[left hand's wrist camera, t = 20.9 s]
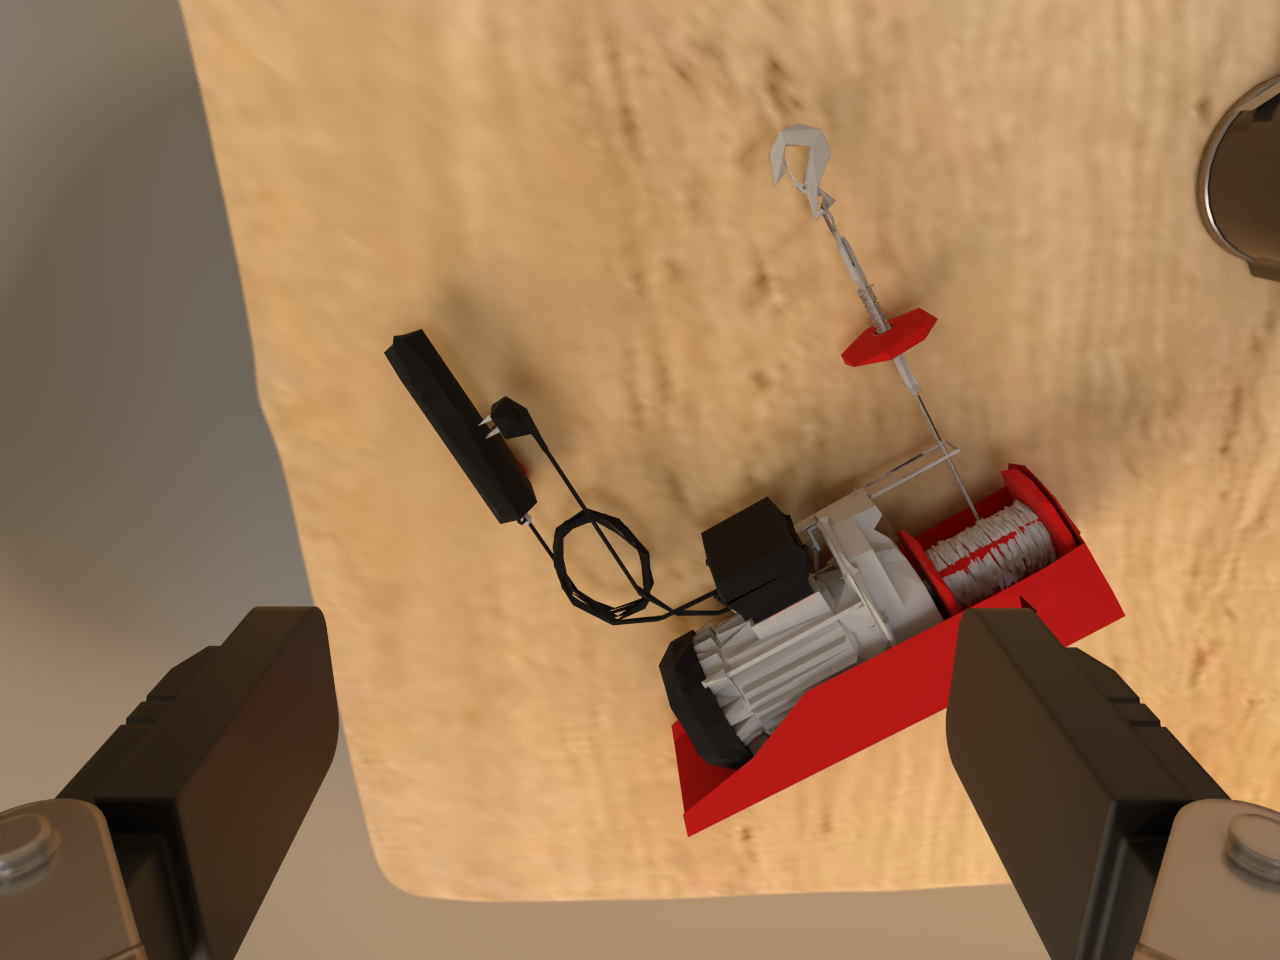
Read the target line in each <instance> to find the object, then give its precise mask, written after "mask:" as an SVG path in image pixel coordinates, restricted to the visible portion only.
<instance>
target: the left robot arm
mask: <svg viewBox="0 0 1280 960" xmlns="http://www.w3.org/2000/svg"><path fill="white" fill-rule="evenodd" d="M1197 201H1198V208H1199V212H1200V215H1201V218H1202V221H1203V223H1204V225H1205V227H1206V229H1207V231H1208V232H1209V234H1210V235H1211V237H1212V238H1213V239H1214V240H1215V242H1216V243H1217V244H1218V245H1219V246H1221V247H1222V248H1223V249H1224V250H1226V251H1227V252H1228V253H1230V254H1232V255H1234V256H1236V257H1238V258H1241V259H1243V260H1247V262H1248V264H1249V266H1250V269H1251V273H1252V275H1253V276H1254V277H1258V278H1262V279H1267V280H1272V281H1277V282H1280V75H1279V76H1276V77H1274V78H1272V79H1270V80H1268V81H1266V82H1264V83H1262V84H1261V85H1259V86H1257V87H1256V88H1254V89H1253V90H1251V91H1250V92H1249V93H1247V94H1246V95H1245V96H1244V97H1242V98H1241V99H1240V100H1239V101H1238V102H1237V103H1236V104H1235V105H1234V106H1233V107H1232V108H1231V109H1230V110H1229V111H1228V112H1227V114H1226V115H1225V116H1224V117H1223V119H1222V120H1221V121H1220V123H1219V124H1218V126H1217V127H1216V129H1215V130H1214V132H1213V134H1212V136H1211V137H1210V139H1209V141H1208V144H1207V146H1206V148H1205V150H1204V153H1203V156H1202V159H1201V163H1200V167H1199V171H1198V178H1197ZM338 730H339V715H338V706H337V699H336V692H335V685H334V677H333V670H332V663H331V656H330V648H329V641H328V634H327V627H326V622H325V618H324V615H323V613H322V611H321V610H320V609H319V608H318V607H315V606H311V607H309V606H305V607H304V606H303V607H299V606H298V607H296V606H295V607H294V606H292V607H289V606H287V607H286V606H285V607H283V606H281V607H280V606H279V607H276V606H272V607H271V606H270V607H269V606H264V607H262V606H261V607H260V606H259V607H255V608H253V609H252V610H251V611H250V612H249V613H248V614H247V615H246V616H245V618H244V619H243V620H242V621H241V622H240V624H239V625H238V626H237V627H236V628H235V630H234V631H233V632H232V633H231V634H230V635H229V637H228V638H227V639H226V640H225V641H224V643H223V644H222V645H221V646H208V647H206V648H204V649H203V650H201V651H200V652H198V653H196V654H195V655H193V656H191V657H190V658H188V659H187V660H185V661H183V662H182V663H180V664H178V665H177V666H175V667H174V668H172V669H171V670H170V671H169V672H168V673H167V674H166V675H165V676H164V677H163V678H162V680H161V681H160V682H159V683H158V684H157V685H156V686H155V687H154V688H153V690H152V691H151V692H150V693H149V694H148V695H147V700H146V702H141V703H140V704H139V705H138V706H137V707H136V709H135V710H134V711H133V712H132V713H131V714H130V715H129V716H128V717H127V719H126V724H125V725H120V726H119V727H118V729H117V730H116V731H115V732H114V733H113V734H112V735H111V736H110V737H109V739H108V740H107V741H106V742H105V743H104V744H103V745H102V746H101V747H100V749H99V750H98V751H97V752H96V753H95V754H94V755H93V756H92V758H91V759H90V760H89V761H88V762H87V763H86V764H85V765H84V766H83V768H82V769H81V770H80V771H79V772H78V773H77V774H76V775H75V776H74V778H73V779H72V780H71V781H70V782H69V783H68V784H67V785H66V786H65V788H64V789H63V790H62V791H61V792H60V793H59V794H58V795H57V796H56V798H55V799H50V800H42V801H37V802H33V803H28V804H24V805H20V806H17V807H14V808H11V809H8V810H5V811H3V812H0V960H234V958H235V956H236V954H237V952H238V950H239V948H240V946H241V944H242V942H243V940H244V938H245V936H246V934H247V932H248V930H249V928H250V926H251V924H252V922H253V919H254V918H255V916H256V914H257V912H258V910H259V908H260V906H261V904H262V902H263V900H264V898H265V896H266V894H267V892H268V890H269V888H270V886H271V884H272V882H273V880H274V878H275V876H276V874H277V872H278V870H279V867H280V866H281V864H282V862H283V860H284V858H285V856H286V854H287V852H288V850H289V848H290V846H291V844H292V842H293V840H294V838H295V836H296V834H297V832H298V830H299V828H300V826H301V824H302V822H303V820H304V818H305V816H306V814H307V812H308V810H309V808H310V806H311V804H312V802H313V800H314V798H315V796H316V794H317V792H318V790H319V788H320V786H321V784H322V782H323V780H324V778H325V776H326V774H327V772H328V770H329V768H330V766H331V763H332V761H333V758H334V755H335V751H336V746H337V740H338ZM946 737H947V744H948V749H949V754H950V758H951V761H952V764H953V766H954V768H955V770H956V772H957V774H958V776H959V778H960V780H961V782H962V784H963V786H964V788H965V790H966V792H967V794H968V796H969V798H970V800H971V802H972V804H973V806H974V808H975V810H976V812H977V814H978V815H979V817H980V819H981V821H982V823H983V825H984V827H985V829H986V831H987V833H988V835H989V837H990V839H991V841H992V843H993V845H994V847H995V849H996V851H997V853H998V855H999V857H1000V859H1001V861H1002V863H1003V865H1004V867H1005V869H1006V871H1007V873H1008V875H1009V877H1010V879H1011V881H1012V883H1013V885H1014V887H1015V888H1016V890H1017V892H1018V894H1019V896H1020V898H1021V900H1022V902H1023V904H1024V906H1025V908H1026V910H1027V912H1028V914H1029V916H1030V918H1031V920H1032V922H1033V924H1034V926H1035V928H1036V930H1037V932H1038V934H1039V936H1040V938H1041V940H1042V942H1043V944H1044V946H1045V948H1046V950H1047V952H1048V954H1049V956H1050V958H1051V960H1280V812H1277V811H1275V810H1272V809H1269V808H1266V807H1263V806H1260V805H1256V804H1252V803H1248V802H1243V801H1238V800H1232V799H1231V798H1230V797H1229V796H1228V795H1227V794H1226V793H1225V792H1224V791H1223V790H1222V788H1221V787H1220V786H1219V785H1218V784H1217V783H1216V782H1215V781H1214V780H1213V778H1212V777H1211V776H1210V775H1209V774H1208V773H1207V772H1206V771H1205V770H1204V769H1203V767H1202V766H1201V765H1200V764H1199V763H1198V762H1197V761H1196V760H1195V759H1194V758H1193V756H1192V755H1191V754H1190V753H1189V752H1188V751H1187V750H1186V749H1185V748H1184V746H1183V745H1182V744H1181V743H1180V742H1179V741H1178V740H1177V739H1176V738H1175V737H1174V735H1173V734H1172V733H1171V732H1170V731H1169V730H1168V729H1167V728H1166V727H1161V725H1160V720H1159V719H1158V718H1157V717H1156V716H1155V715H1154V713H1153V712H1152V711H1151V710H1150V709H1149V708H1148V707H1147V706H1146V705H1145V704H1140V698H1139V697H1138V696H1137V695H1136V694H1135V692H1134V691H1133V690H1132V689H1131V688H1130V687H1129V686H1128V685H1127V684H1126V683H1125V681H1124V680H1123V679H1122V678H1121V677H1120V676H1119V675H1118V674H1117V673H1116V671H1114V670H1113V669H1111V668H1109V667H1108V666H1106V665H1105V664H1103V663H1101V662H1100V661H1098V660H1096V659H1095V658H1093V657H1091V656H1090V655H1088V654H1087V653H1085V652H1083V651H1082V650H1080V649H1078V648H1077V647H1064V646H1063V645H1062V643H1061V642H1060V641H1059V640H1058V639H1057V637H1056V636H1055V635H1054V634H1053V633H1052V632H1051V630H1050V629H1049V628H1048V627H1047V626H1046V625H1045V623H1044V622H1043V621H1042V620H1041V619H1040V617H1039V616H1038V615H1037V614H1036V613H1035V612H1034V611H1033V610H1032V609H1030V608H968V609H966V610H965V611H964V613H963V614H962V616H961V619H960V622H959V627H958V634H957V641H956V648H955V655H954V662H953V670H952V677H951V684H950V691H949V698H948V705H947V713H946Z"/></svg>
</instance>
